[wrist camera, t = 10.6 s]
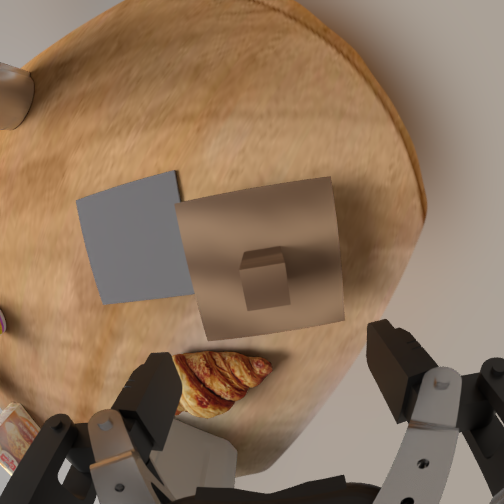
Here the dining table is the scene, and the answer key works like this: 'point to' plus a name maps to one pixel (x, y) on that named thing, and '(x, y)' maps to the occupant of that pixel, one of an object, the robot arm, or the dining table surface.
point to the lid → (264, 258)
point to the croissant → (216, 380)
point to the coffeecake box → (15, 435)
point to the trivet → (136, 240)
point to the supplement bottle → (2, 323)
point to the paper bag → (195, 460)
